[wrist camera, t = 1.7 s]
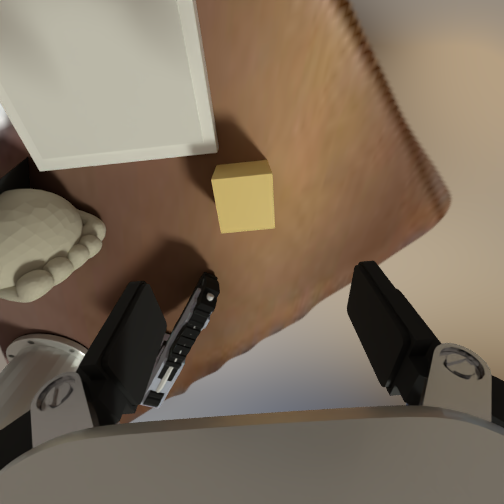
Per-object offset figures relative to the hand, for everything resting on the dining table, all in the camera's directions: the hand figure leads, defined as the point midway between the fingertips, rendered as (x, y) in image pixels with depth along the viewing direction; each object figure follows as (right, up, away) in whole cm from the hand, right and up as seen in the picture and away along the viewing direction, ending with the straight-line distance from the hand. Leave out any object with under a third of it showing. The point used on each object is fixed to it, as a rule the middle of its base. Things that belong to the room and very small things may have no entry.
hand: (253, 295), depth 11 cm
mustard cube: (-1, +9, +14) cm, 16 cm away
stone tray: (-12, +18, +7) cm, 23 cm away
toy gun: (-9, -6, +24) cm, 26 cm away
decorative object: (-20, +6, +15) cm, 25 cm away
